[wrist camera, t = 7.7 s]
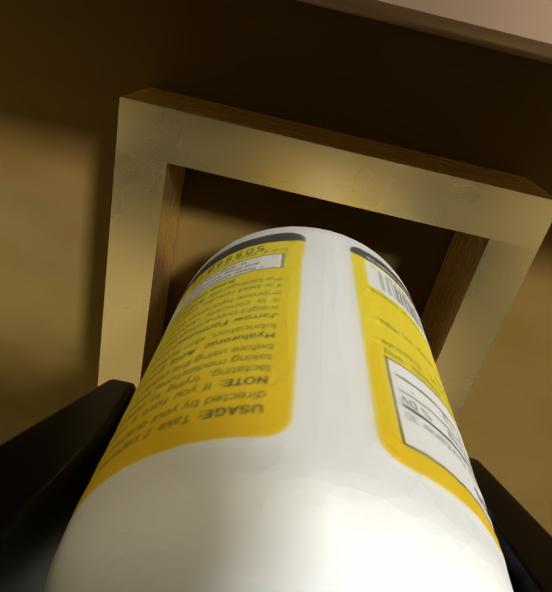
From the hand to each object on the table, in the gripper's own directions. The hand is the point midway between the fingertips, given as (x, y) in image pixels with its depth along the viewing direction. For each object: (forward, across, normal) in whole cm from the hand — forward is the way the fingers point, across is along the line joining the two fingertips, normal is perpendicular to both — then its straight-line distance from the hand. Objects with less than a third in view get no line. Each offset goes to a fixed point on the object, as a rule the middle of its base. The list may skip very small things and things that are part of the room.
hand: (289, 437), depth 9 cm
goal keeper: (+5, 0, 0) cm, 5 cm away
